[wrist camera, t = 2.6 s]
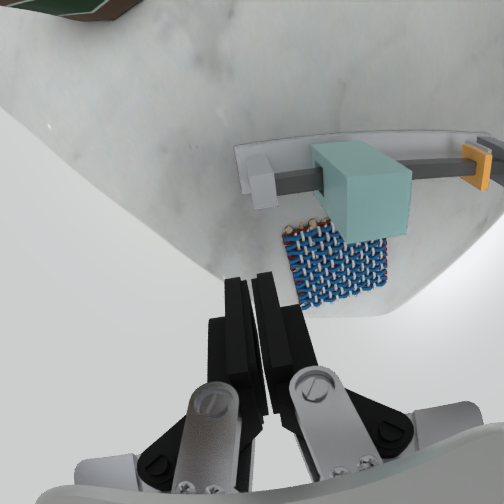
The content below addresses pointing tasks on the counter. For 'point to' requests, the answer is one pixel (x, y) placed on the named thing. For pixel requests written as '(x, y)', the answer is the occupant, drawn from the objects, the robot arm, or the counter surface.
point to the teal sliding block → (362, 190)
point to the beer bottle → (75, 8)
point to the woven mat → (332, 263)
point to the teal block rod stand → (388, 142)
